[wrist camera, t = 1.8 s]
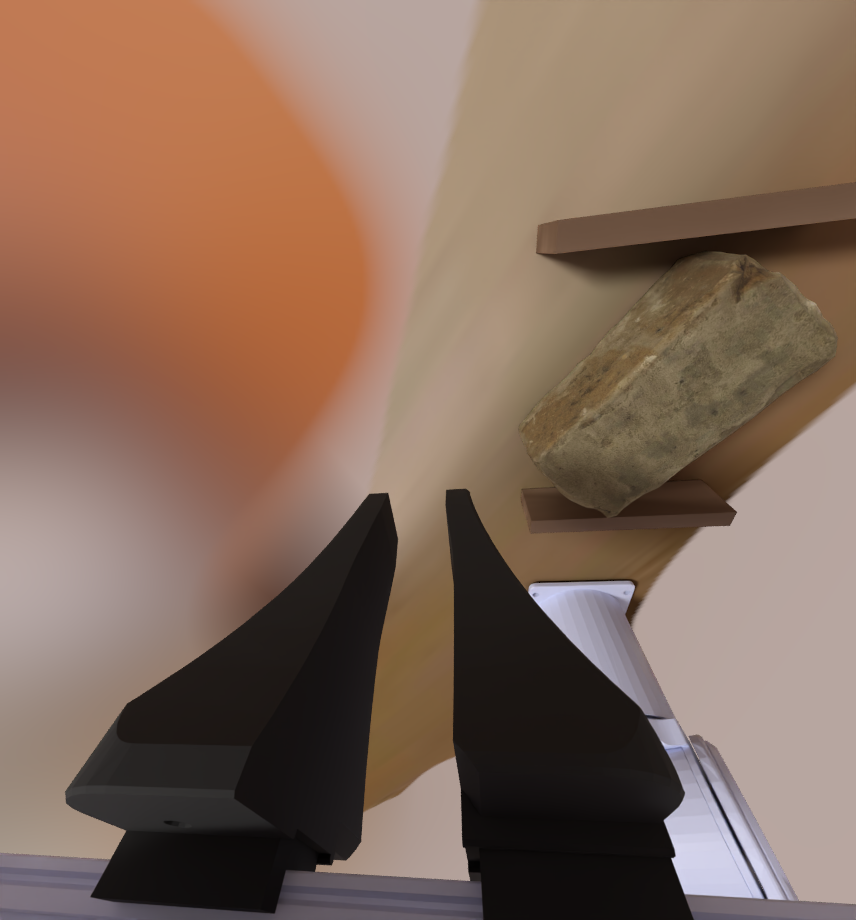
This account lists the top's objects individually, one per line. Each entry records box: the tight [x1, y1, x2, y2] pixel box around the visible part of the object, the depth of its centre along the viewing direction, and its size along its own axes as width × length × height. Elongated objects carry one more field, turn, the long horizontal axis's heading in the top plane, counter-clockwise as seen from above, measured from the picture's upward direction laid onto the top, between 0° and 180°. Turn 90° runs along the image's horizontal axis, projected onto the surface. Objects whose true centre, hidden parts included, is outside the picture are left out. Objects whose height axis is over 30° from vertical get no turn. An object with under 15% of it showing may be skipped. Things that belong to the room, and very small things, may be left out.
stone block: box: [519, 251, 837, 518], centre depth 16 cm, size 6×12×5 cm, turn 146°
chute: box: [521, 182, 856, 533], centre depth 16 cm, size 15×11×3 cm
